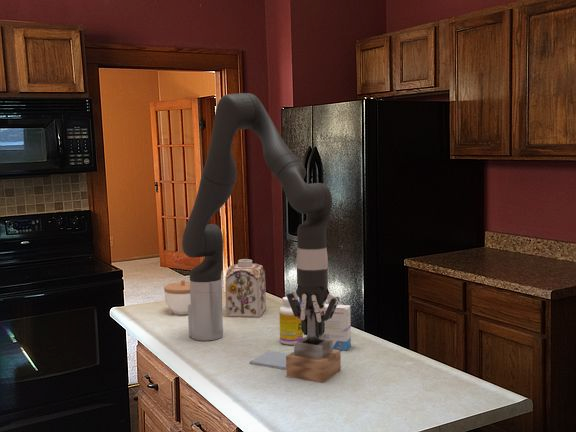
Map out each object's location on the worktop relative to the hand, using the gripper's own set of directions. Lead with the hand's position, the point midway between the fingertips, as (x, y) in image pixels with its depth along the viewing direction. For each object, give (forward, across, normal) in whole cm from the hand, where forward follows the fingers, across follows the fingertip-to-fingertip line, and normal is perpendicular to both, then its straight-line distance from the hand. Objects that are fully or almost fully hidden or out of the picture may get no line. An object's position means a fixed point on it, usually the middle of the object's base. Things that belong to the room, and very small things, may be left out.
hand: (313, 334), depth 162 cm
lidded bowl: (+10, -66, +34) cm, 75 cm away
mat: (+10, -12, +4) cm, 16 cm away
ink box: (+10, -4, +21) cm, 24 cm away
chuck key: (+4, 0, 0) cm, 4 cm away
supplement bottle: (+10, -17, +20) cm, 28 cm away
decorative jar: (+10, -46, +42) cm, 63 cm away
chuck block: (+10, 0, 0) cm, 10 cm away
